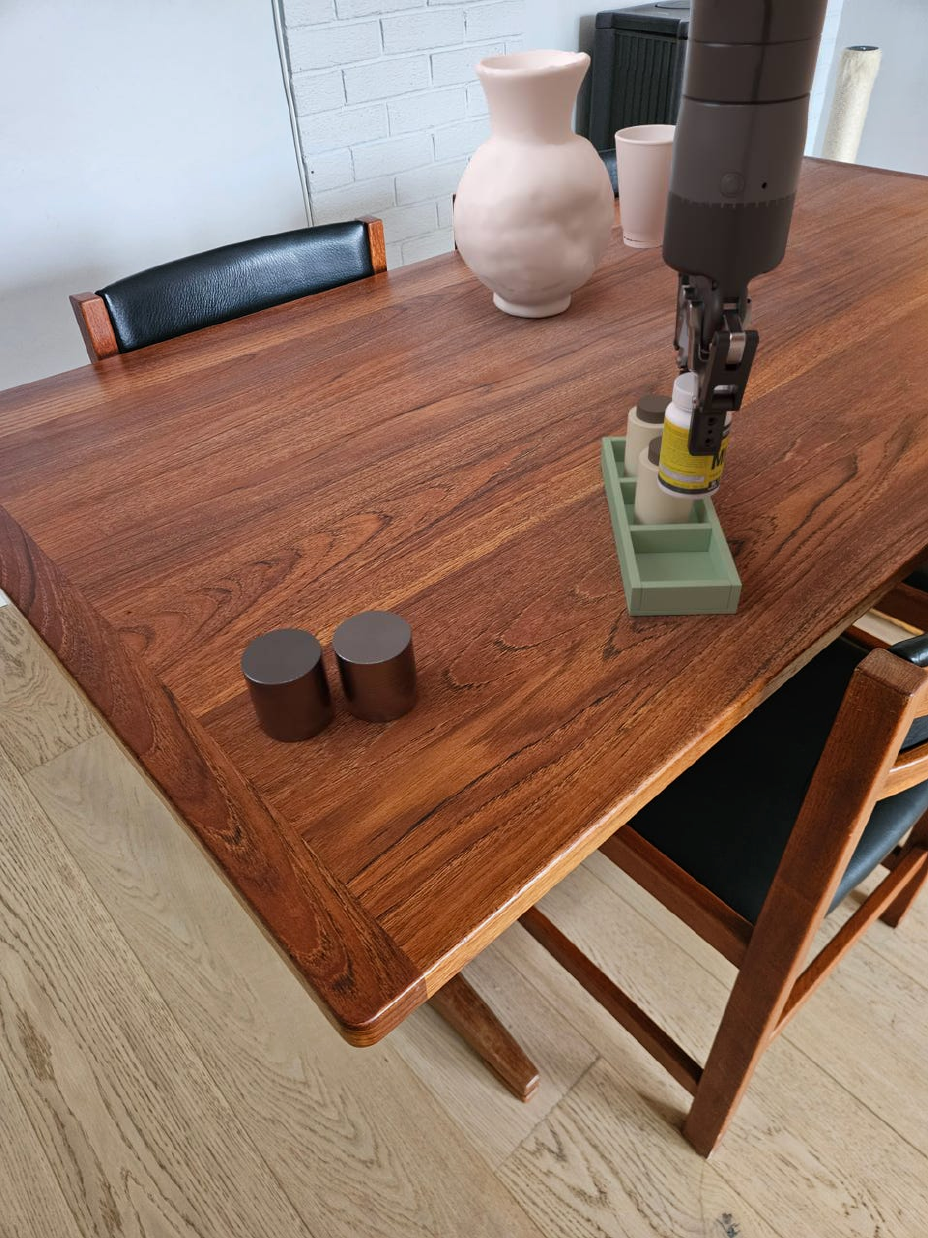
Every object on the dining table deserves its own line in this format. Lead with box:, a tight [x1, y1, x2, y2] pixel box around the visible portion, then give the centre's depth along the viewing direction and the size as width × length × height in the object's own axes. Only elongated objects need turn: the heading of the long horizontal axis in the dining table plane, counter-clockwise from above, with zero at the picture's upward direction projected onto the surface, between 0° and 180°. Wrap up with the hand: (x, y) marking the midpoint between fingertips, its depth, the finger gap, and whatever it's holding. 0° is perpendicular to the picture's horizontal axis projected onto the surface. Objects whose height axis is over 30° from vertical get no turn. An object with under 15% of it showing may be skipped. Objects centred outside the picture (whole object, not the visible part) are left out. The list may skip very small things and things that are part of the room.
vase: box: [452, 48, 615, 319], centre depth 109 cm, size 19×21×30 cm
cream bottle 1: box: [623, 393, 672, 478], centre depth 79 cm, size 5×5×8 cm
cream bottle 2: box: [633, 436, 693, 525], centre depth 73 cm, size 5×5×8 cm
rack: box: [599, 435, 743, 617], centre depth 75 cm, size 9×24×3 cm, turn 178°
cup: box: [614, 124, 676, 249], centre depth 132 cm, size 12×12×16 cm
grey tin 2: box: [331, 609, 420, 723], centre depth 60 cm, size 6×6×6 cm
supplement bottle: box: [657, 372, 733, 500], centre depth 61 cm, size 5×5×8 cm
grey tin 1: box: [239, 627, 336, 743], centre depth 59 cm, size 6×6×6 cm
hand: (695, 433), depth 61 cm, fingers closed on supplement bottle, 4 cm apart
